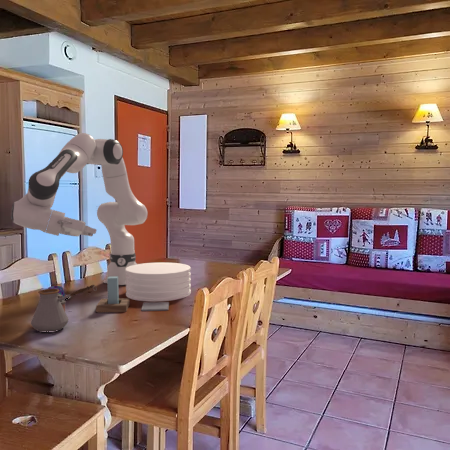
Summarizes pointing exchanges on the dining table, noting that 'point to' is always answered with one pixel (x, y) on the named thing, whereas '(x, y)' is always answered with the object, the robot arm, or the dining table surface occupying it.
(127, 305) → the holder
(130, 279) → the plate stack
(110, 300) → the peg
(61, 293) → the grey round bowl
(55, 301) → the coffee pot
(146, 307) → the coaster
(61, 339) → the dining table surface
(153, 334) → the dining table surface
